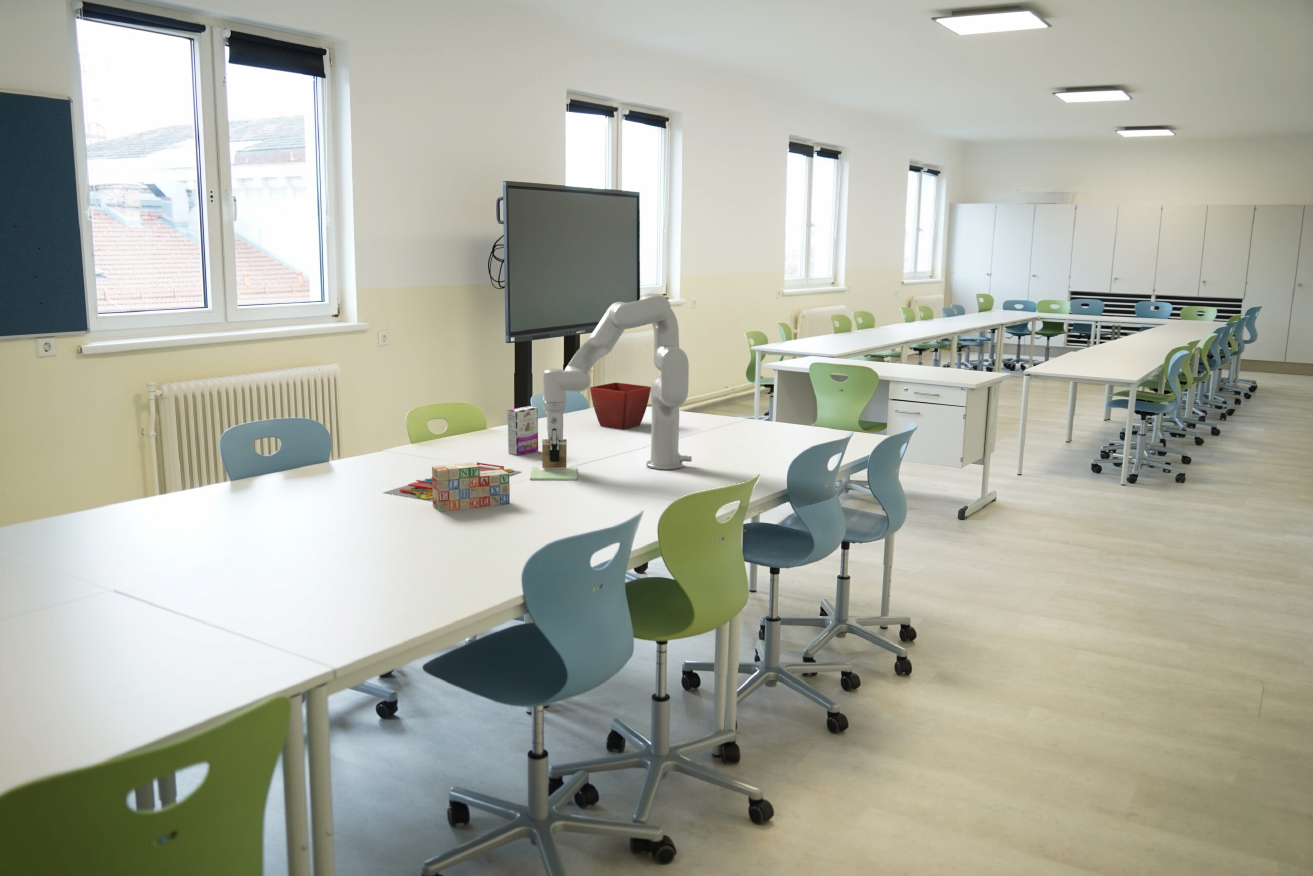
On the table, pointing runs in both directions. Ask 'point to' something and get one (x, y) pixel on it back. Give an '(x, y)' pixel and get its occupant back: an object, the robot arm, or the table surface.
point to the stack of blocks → (468, 487)
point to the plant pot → (620, 404)
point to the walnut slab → (546, 454)
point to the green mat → (553, 473)
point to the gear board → (425, 487)
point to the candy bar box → (522, 430)
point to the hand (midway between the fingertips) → (554, 459)
